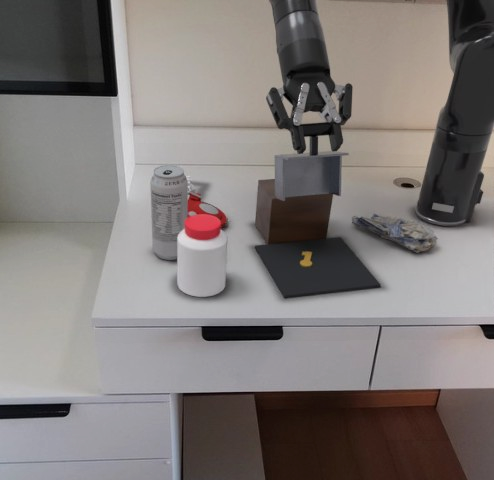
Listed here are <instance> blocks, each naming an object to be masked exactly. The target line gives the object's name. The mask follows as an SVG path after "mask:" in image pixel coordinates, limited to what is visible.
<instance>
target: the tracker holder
mask: <svg viewBox="0 0 494 480" xmlns="http://www.w3.org/2000/svg"><path fill="white" fill-rule="evenodd" d="M202 198H203V196H202V195H201V193H198V192H196V191H189V192H188V217H190V216H192V215H197V214H208V215H212V216H215V217H217V218H218V219H219V220H220V221H221V229H222V228H224V227H225V226H226V224H227V221H228V218H227V216H226V214H225V213H224V212H223V211H222V210H221V209H220V208H218V207H217V206H215V205H213V204H210V203H208V202H206V201H202Z"/></svg>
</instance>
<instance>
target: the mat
mask: <svg viewBox="0 0 494 480" xmlns="http://www.w3.org/2000/svg"><path fill="white" fill-rule="evenodd" d="M254 249H255V250H256V253H257V254H258V256H259V258H260V259H261V261H262V263H263V264H264V266H265V268H266V270H267V272H268V273H269V275H270V277H271V278H272V280H273V282H274V283H275V285H276V287H277V288H278V290H279V292H280V294H281V295H282V297H283V299H287V298H298V297H306V296H314V295H315V296H316V295H323V294H332V293H341V292H348V291H349V292H350V291H358V290H365V289H366V290H367V289H375V288H376V289H377V288H381V285H382V284H381V283H380V282H379V281H378V280H377V278H376V277H375V275H373V274H372V272H371V271H370V270H369V269H368V268H367V267H366V265H365V264H364V263H363V262H362V261H361V259H360V258H359V257H358V256H357V255H356V253H355V252H354V251H353V250H352V248H350V246H349V245H348V244H347V243H346V242H345V241H344V239H343V238H342V237H341V236H340V237H339V236H337V237H327V238H326V239H316V240H306V241H296V242H285V243H275V244H267V243H265V244H255V245H254ZM303 251H304V252H306V251H308V252H312V255H311V259H310V261H311V262H312V266H311V267H303V266H301V265H300V261H302V260H304V258H305V256H302V252H303Z"/></svg>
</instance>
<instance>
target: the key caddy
mask: <svg viewBox="0 0 494 480" xmlns="http://www.w3.org/2000/svg"><path fill="white" fill-rule="evenodd" d="M300 126H303V132H304V137H305V138H309V152H303V154H298V153H287V154H275V155H274V179H275V198H277V199H279V200H282V201H285V197H296V196H307V195H319V194H333V196H338V197H341V196H342V170H343V169H342V167H343V165H342V164H343V163H342V161H343V157H344V156H349V155H350V154H349V152H344V151H332V150H325V151H319V137H323V136H324V137H325V136H329V135H330V133H331V124H330V122H325V121H324V122H323V121H322V122H313V123H312V122H310V123H309V122H308V123H307V122H306V123H301V124H300Z"/></svg>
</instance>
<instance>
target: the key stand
mask: <svg viewBox="0 0 494 480" xmlns="http://www.w3.org/2000/svg"><path fill="white" fill-rule="evenodd" d="M333 199H334V194H319V195H307V196H296V197H285V201H282V200H279V199H277V198H275V178H268V179H267V178H266V179H258V181H257V191H256V203H255V204H256V205H255V206H256V207H255V217H254V218H255V219H254V226H255V227H256V229H257V230H258V232H259V235H261V237H262V239H263V240H264V242H265V244H275V243H285V242H296V241H306V240H316V239H326V238H328V232H329V224H330V220H331V219H330V218H331V211H332V207H333V206H332V205H333Z"/></svg>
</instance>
